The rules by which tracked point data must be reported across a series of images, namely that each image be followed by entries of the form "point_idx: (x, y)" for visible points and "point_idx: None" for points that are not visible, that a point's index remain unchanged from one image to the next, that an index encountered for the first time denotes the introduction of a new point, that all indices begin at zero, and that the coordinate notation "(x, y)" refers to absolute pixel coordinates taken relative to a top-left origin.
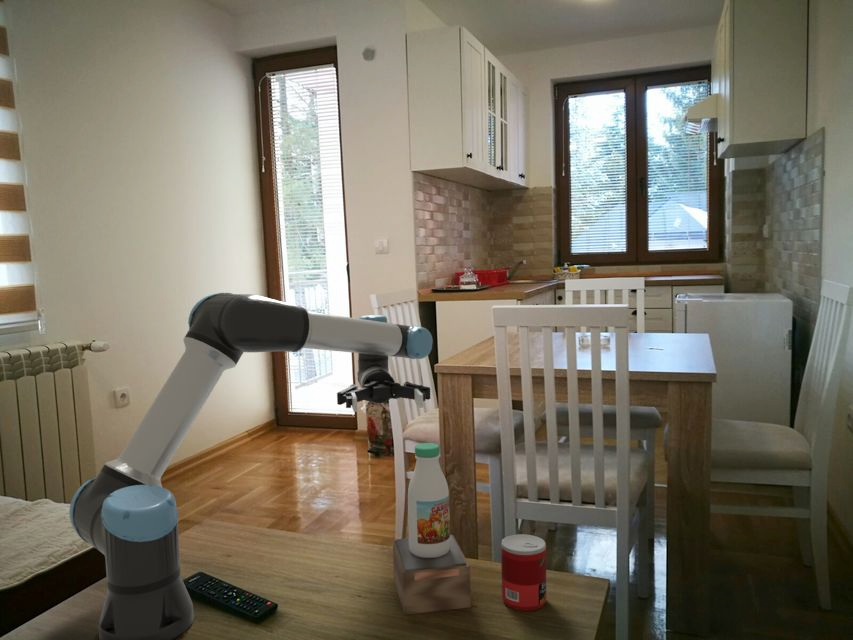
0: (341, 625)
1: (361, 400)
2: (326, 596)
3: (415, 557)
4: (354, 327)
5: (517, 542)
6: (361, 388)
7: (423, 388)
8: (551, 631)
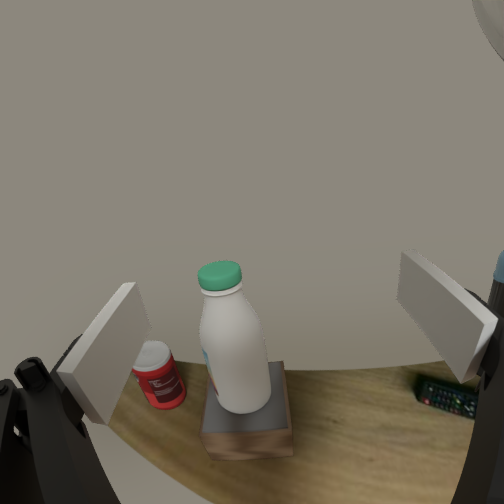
0: (344, 377)
1: (466, 463)
2: (372, 418)
3: None
4: None
5: (151, 358)
6: None
7: (12, 402)
8: None
